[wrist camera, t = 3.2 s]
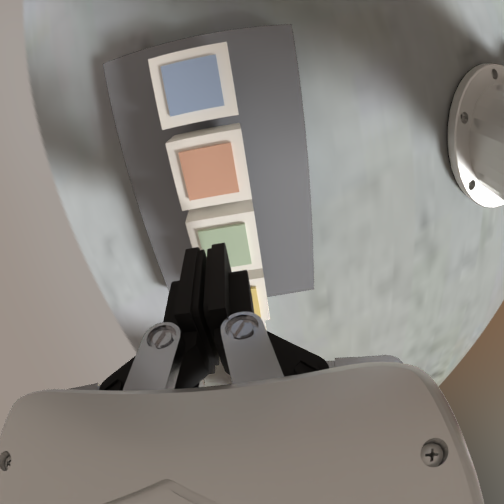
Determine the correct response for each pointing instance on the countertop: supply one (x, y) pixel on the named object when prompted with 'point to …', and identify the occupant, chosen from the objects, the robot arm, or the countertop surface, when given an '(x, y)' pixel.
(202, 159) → the key terracotta
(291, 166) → the keypad board
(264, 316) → the key mustard
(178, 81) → the key blue
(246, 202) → the key sage
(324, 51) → the countertop surface
